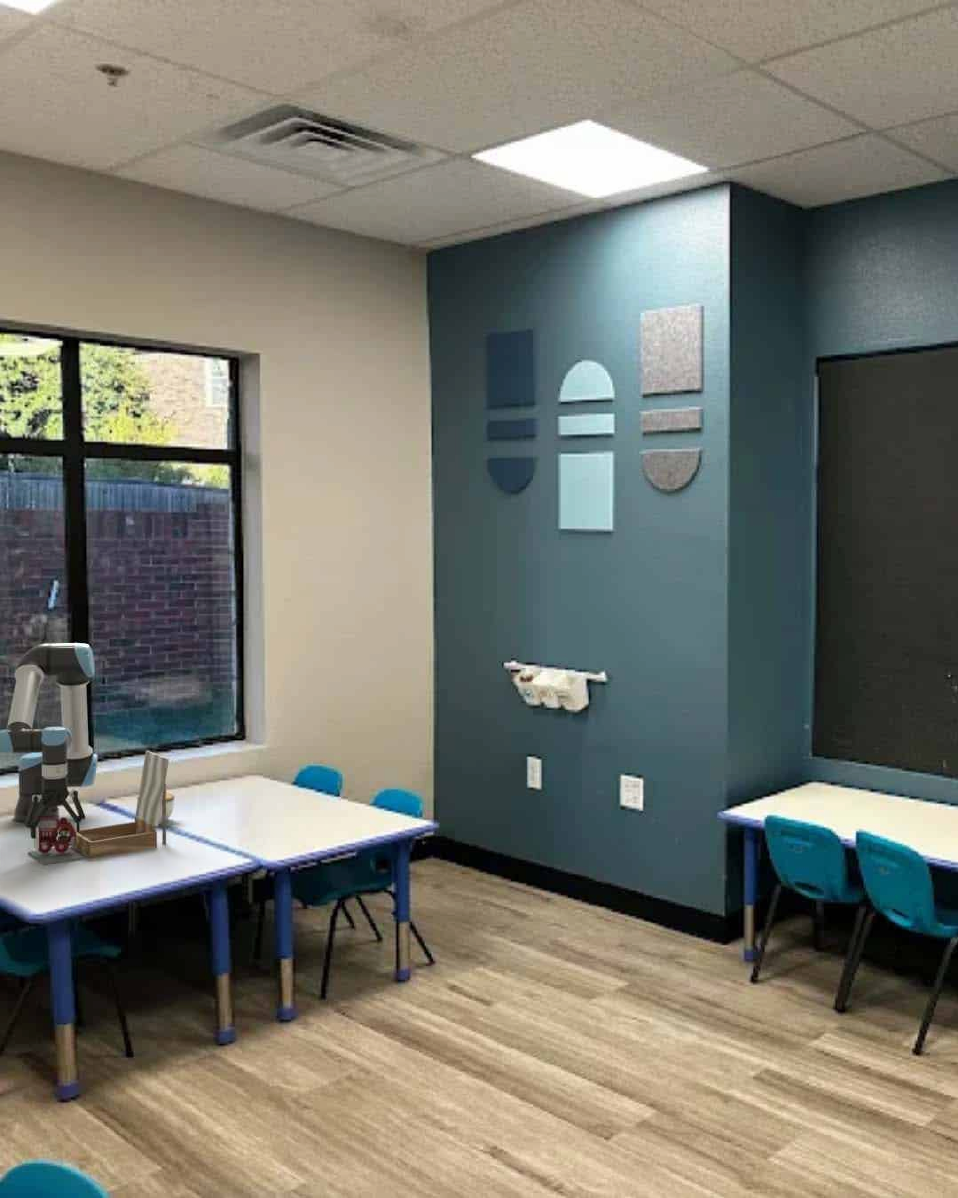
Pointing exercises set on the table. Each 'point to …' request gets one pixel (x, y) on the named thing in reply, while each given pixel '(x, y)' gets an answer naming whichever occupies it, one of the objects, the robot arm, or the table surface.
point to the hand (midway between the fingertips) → (55, 845)
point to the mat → (55, 856)
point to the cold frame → (146, 817)
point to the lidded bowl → (167, 806)
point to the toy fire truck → (55, 835)
